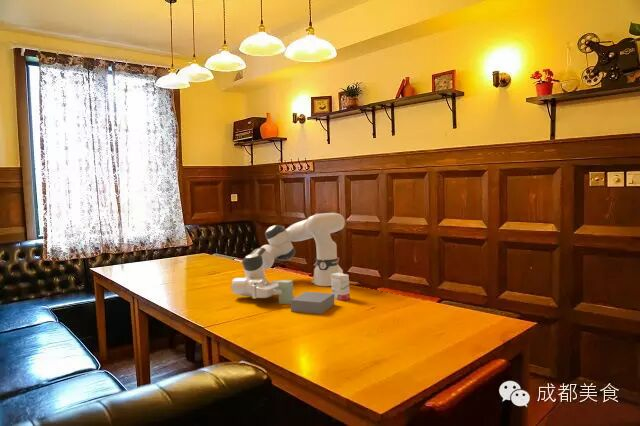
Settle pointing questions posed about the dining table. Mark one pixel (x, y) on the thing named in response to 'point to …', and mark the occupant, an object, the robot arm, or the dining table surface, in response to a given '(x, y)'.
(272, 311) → the dining table surface
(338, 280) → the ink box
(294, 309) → the gray block
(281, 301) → the sage block
